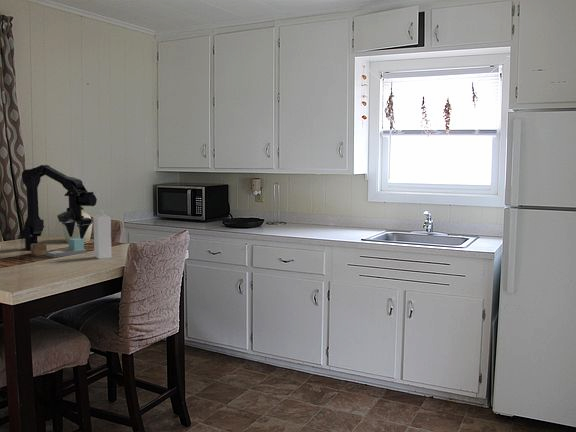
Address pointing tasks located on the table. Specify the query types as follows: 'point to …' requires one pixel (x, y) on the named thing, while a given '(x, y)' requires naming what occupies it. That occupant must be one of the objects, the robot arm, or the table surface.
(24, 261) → the table surface
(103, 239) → the milk
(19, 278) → the table surface
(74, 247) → the teal block
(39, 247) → the walnut block
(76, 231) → the jug
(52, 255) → the baseplate
